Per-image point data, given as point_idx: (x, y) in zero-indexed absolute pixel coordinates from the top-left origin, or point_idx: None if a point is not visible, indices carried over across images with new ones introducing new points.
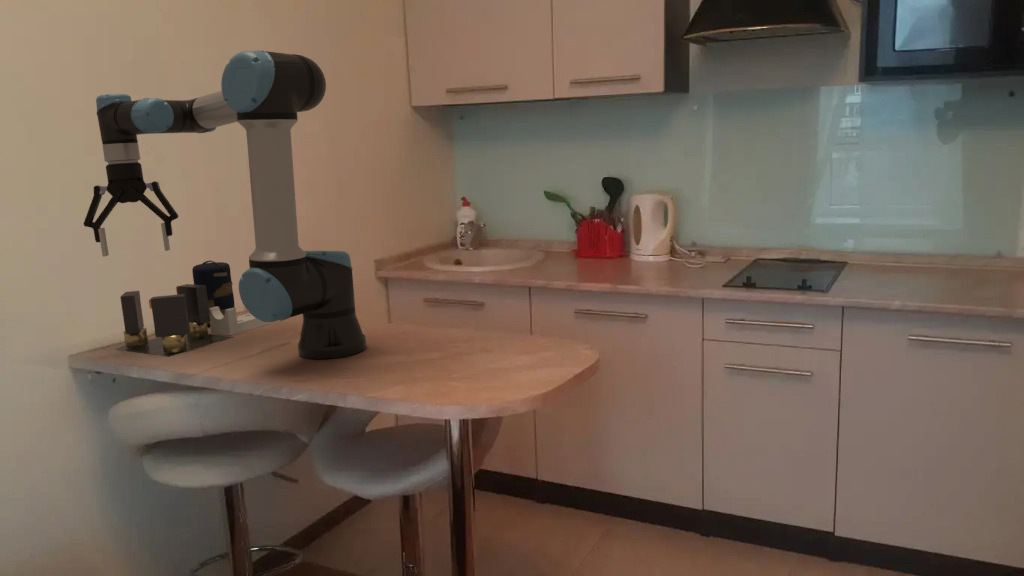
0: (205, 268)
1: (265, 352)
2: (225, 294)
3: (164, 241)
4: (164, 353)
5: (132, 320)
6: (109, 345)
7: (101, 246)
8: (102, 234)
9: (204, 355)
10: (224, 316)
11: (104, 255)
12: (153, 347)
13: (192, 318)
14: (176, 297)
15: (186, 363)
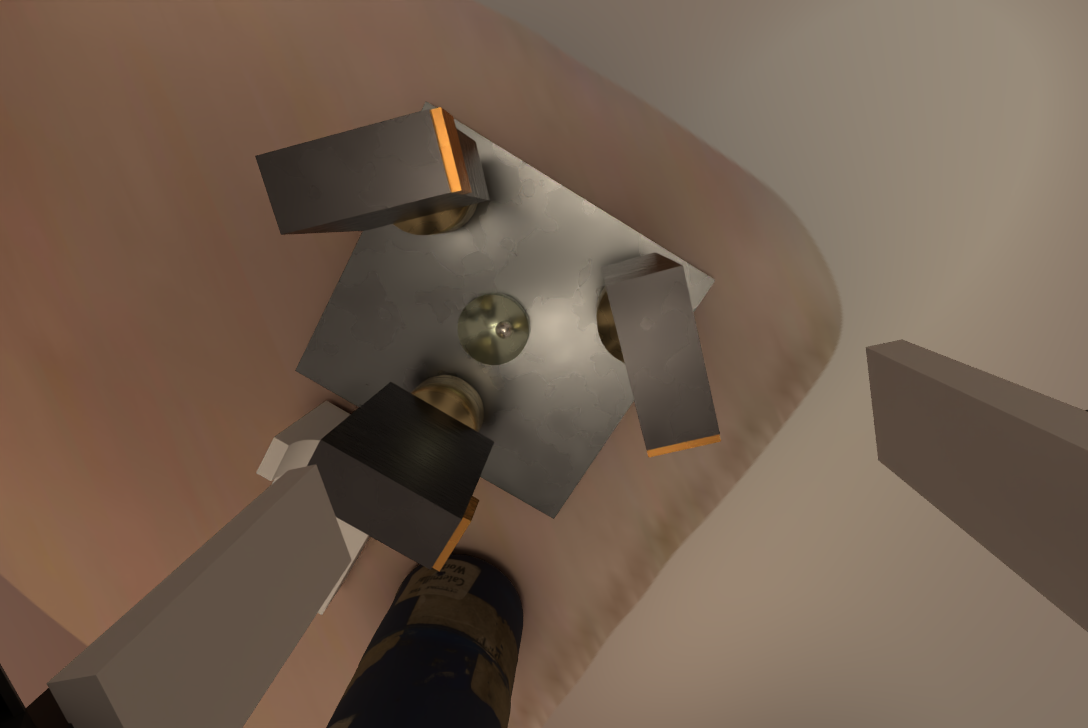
0: None
1: (100, 144)
2: (361, 660)
3: (259, 513)
4: None
5: (624, 266)
6: (786, 406)
7: (971, 371)
8: (1062, 434)
9: None
10: (309, 437)
11: (886, 345)
12: (558, 273)
13: (425, 410)
14: (293, 148)
15: (336, 32)
